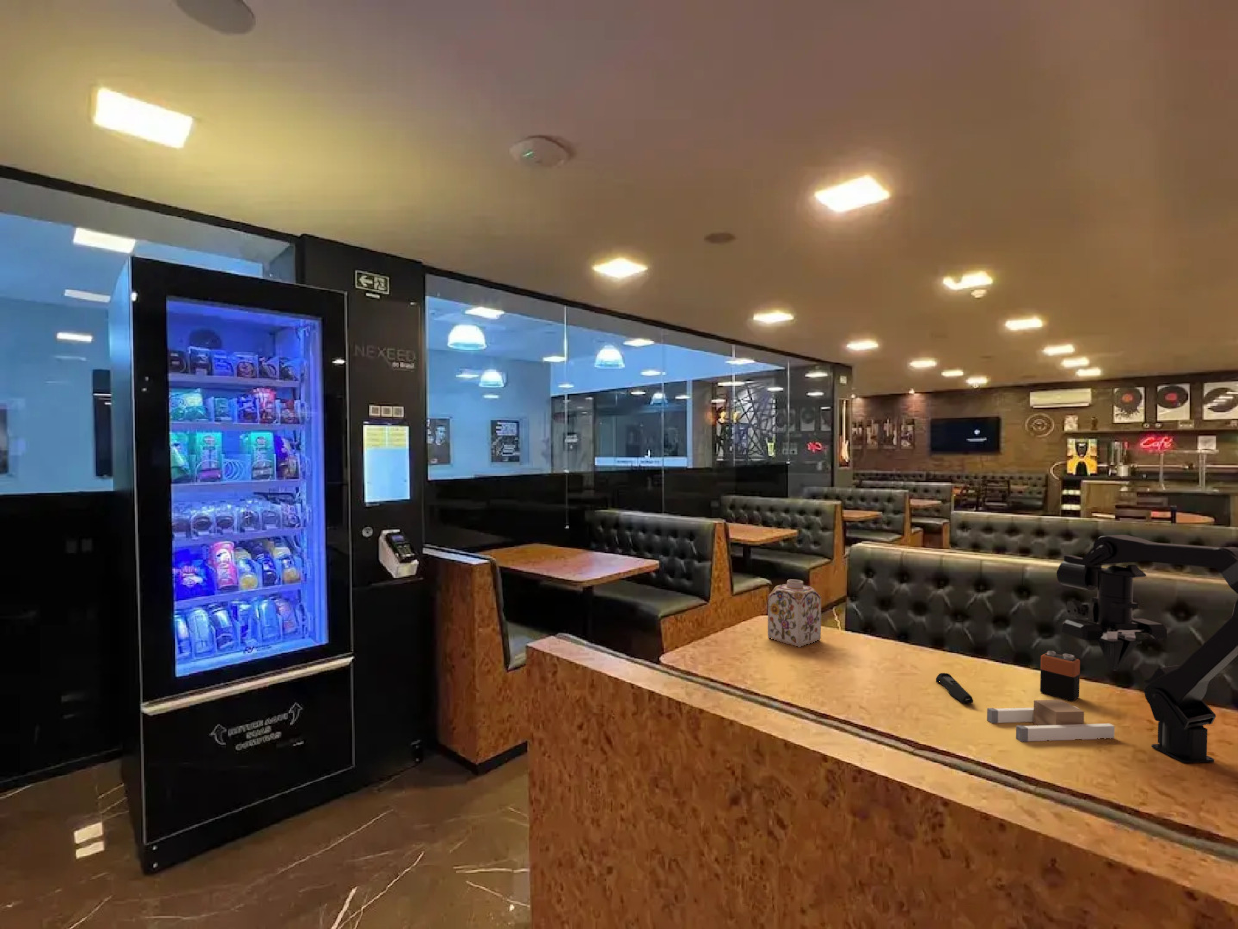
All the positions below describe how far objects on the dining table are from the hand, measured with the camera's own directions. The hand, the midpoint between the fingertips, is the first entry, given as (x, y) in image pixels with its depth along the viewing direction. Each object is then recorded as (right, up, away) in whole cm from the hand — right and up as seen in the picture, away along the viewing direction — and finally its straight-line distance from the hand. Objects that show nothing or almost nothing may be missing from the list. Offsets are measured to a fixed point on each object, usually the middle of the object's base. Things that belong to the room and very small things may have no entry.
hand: (1112, 670), depth 128 cm
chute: (-14, -12, -1) cm, 18 cm away
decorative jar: (-50, -11, +59) cm, 78 cm away
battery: (+1, -12, +17) cm, 21 cm away
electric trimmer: (-23, -12, +18) cm, 32 cm away
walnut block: (-12, -12, -1) cm, 17 cm away
